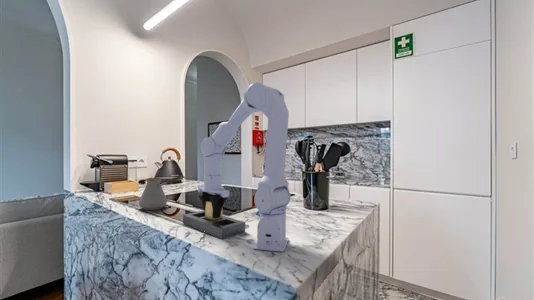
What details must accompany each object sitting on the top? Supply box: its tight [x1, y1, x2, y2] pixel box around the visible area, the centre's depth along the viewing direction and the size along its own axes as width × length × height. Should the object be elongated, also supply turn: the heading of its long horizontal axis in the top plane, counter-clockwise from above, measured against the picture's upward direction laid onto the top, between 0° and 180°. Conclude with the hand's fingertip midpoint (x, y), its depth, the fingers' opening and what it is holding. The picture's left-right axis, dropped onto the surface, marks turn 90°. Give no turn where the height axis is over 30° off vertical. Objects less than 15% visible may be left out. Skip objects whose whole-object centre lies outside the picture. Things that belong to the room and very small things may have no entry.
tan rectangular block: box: [205, 200, 224, 222], centre depth 84 cm, size 4×4×7 cm
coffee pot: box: [138, 174, 186, 211], centre depth 108 cm, size 21×12×15 cm, turn 71°
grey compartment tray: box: [182, 210, 246, 240], centre depth 83 cm, size 22×9×3 cm, turn 47°
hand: (212, 216), depth 83 cm, fingers closed on tan rectangular block, 4 cm apart
